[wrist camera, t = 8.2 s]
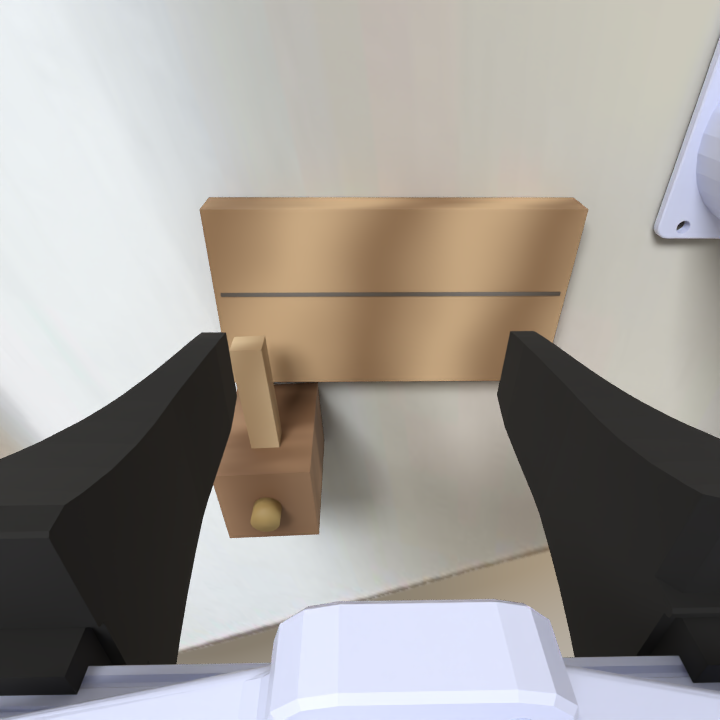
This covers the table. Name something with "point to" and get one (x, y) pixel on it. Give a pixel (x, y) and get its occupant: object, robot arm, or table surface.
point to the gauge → (270, 451)
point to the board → (389, 281)
